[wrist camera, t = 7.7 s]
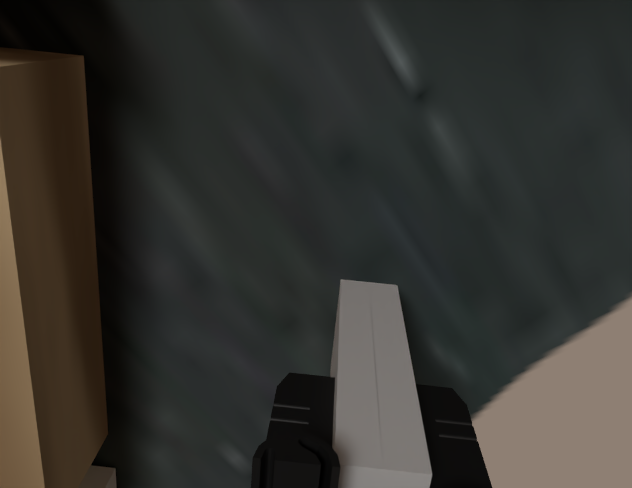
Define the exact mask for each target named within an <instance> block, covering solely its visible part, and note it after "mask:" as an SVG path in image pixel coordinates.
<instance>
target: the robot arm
mask: <svg viewBox="0 0 632 488" xmlns="http://www.w3.org/2000/svg"><path fill="white" fill-rule="evenodd" d="M251 488H492V486H491V482H490V479H489V476H488V473H487V469H486V466H485V463H484V460H483V457H482V453H481V450H480V447H479V444H478V442H477V437H476V434H475V431H474V428H473V426H472V421H471V418H470V415H469V411H468V408H467V405H466V404H465V403H464V401H463V400H462V399H461V398H460V397H459V396H458V395H457V393H456V392H455V391H454V390H453V389H452V388H444V387H435V386H426V385H416V384H415V379H414V373H413V368H412V362H411V357H410V352H409V346H408V341H407V335H406V330H405V325H404V319H403V314H402V308H401V303H400V298H399V292H398V287H397V285H391V284H381V283H371V282H362V281H352V280H342V279H341V281H340V290H339V299H338V308H337V316H336V325H335V334H334V343H333V352H332V360H331V372H330V377H326V376H316V375H307V374H297V373H289V374H288V375H287V376H286V377H285V378H284V379H283V380H282V381H281V383H280V384H279V385H278V386H277V390H276V394H275V399H274V405H273V409H272V414H271V421H270V424H269V429H268V434H267V439H266V441H265V442H263V443H262V444H261V445H259V446H258V448H257V450H256V452H255V454H254V456H253V463H252V481H251Z"/></svg>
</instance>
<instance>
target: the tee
mask: <svg viewBox="0 0 632 488" xmlns="http://www.w3.org/2000/svg"><path fill="white" fill-rule="evenodd" d="M107 435H108V423H107V408H106V392H105V377H104V362H103V346H102V331H101V315H100V300H99V284H98V269H97V253H96V238H95V223H94V207H93V192H92V176H91V161H90V145H89V130H88V115H87V99H86V84H85V68H84V56H81V55H72V54H62V53H52V52H42V51H32V50H23V49H13V48H3V47H0V488H78V487H79V486H80V484H81V482H82V480H83V478H84V477H85V475H86V473H87V471H88V469H89V468H90V466H91V464H92V462H93V460H94V459H95V457H96V455H97V453H98V451H99V449H100V448H101V446H102V444H103V442H104V440H105V439H106V437H107Z"/></svg>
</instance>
